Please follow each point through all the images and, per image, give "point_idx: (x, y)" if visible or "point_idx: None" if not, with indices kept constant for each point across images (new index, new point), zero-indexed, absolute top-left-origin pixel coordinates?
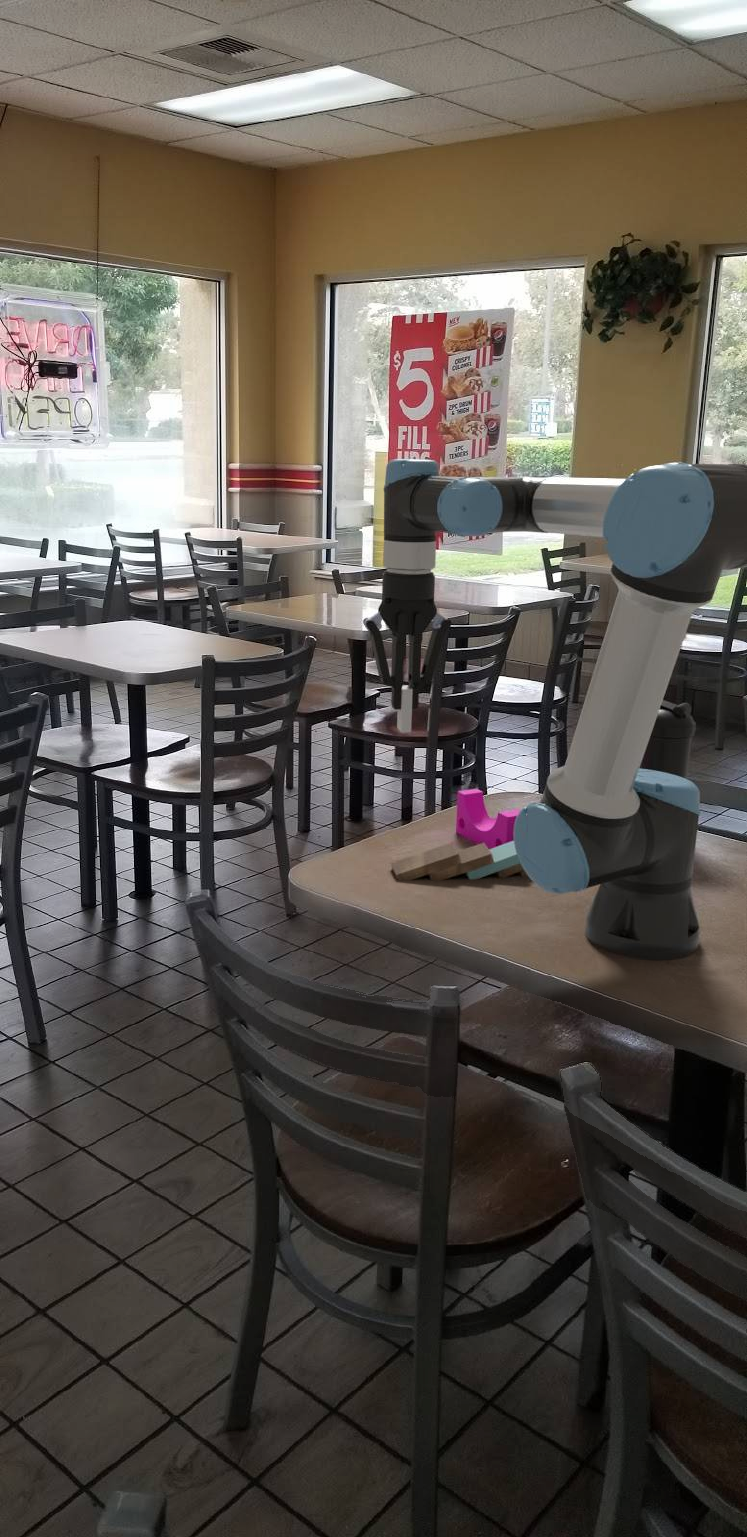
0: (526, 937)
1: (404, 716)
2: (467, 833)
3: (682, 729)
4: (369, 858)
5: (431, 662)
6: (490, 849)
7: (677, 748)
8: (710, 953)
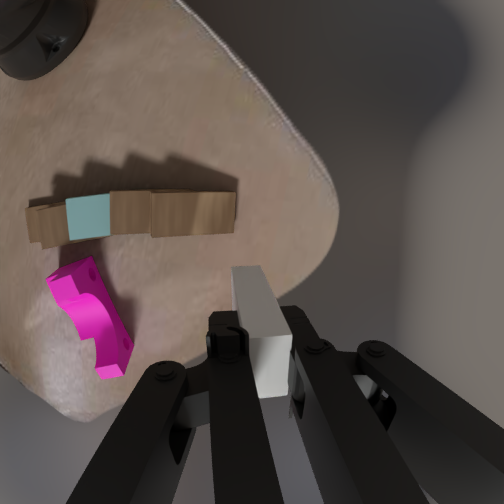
0: (134, 38)
1: (259, 285)
2: (122, 329)
3: None
4: None
5: (136, 443)
6: (105, 234)
7: None
8: None
